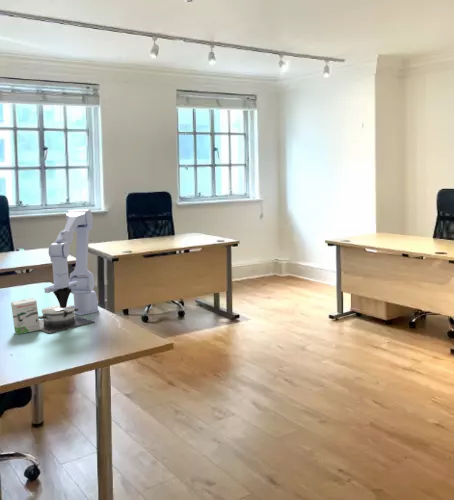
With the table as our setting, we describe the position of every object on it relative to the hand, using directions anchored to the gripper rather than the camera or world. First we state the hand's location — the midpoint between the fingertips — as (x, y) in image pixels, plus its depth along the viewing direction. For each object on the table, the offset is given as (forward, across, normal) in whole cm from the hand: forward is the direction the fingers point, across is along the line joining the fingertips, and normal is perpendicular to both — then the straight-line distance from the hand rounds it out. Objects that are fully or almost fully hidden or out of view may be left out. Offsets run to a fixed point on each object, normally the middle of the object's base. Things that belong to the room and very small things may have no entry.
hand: (63, 307), depth 228 cm
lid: (+2, 0, -3) cm, 4 cm away
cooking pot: (+7, 0, -4) cm, 8 cm away
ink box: (+7, +13, -6) cm, 16 cm away
